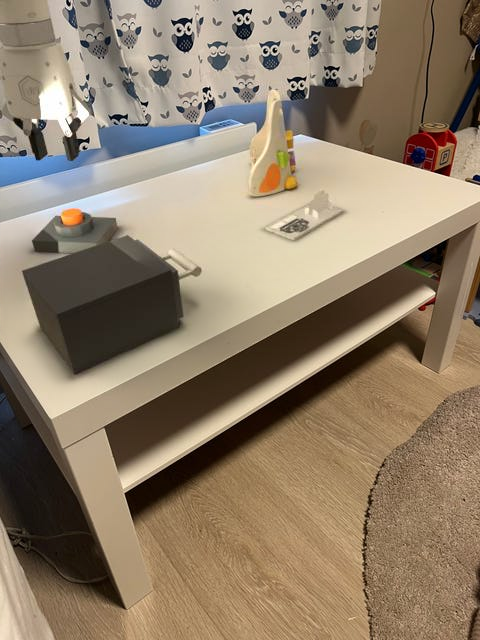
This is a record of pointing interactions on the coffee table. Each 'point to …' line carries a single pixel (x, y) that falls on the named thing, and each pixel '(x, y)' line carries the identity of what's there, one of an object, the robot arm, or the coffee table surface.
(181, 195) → the coffee table surface
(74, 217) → the button
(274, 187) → the shape sorter
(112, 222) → the control block
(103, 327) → the drawer box
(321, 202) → the white stand base
